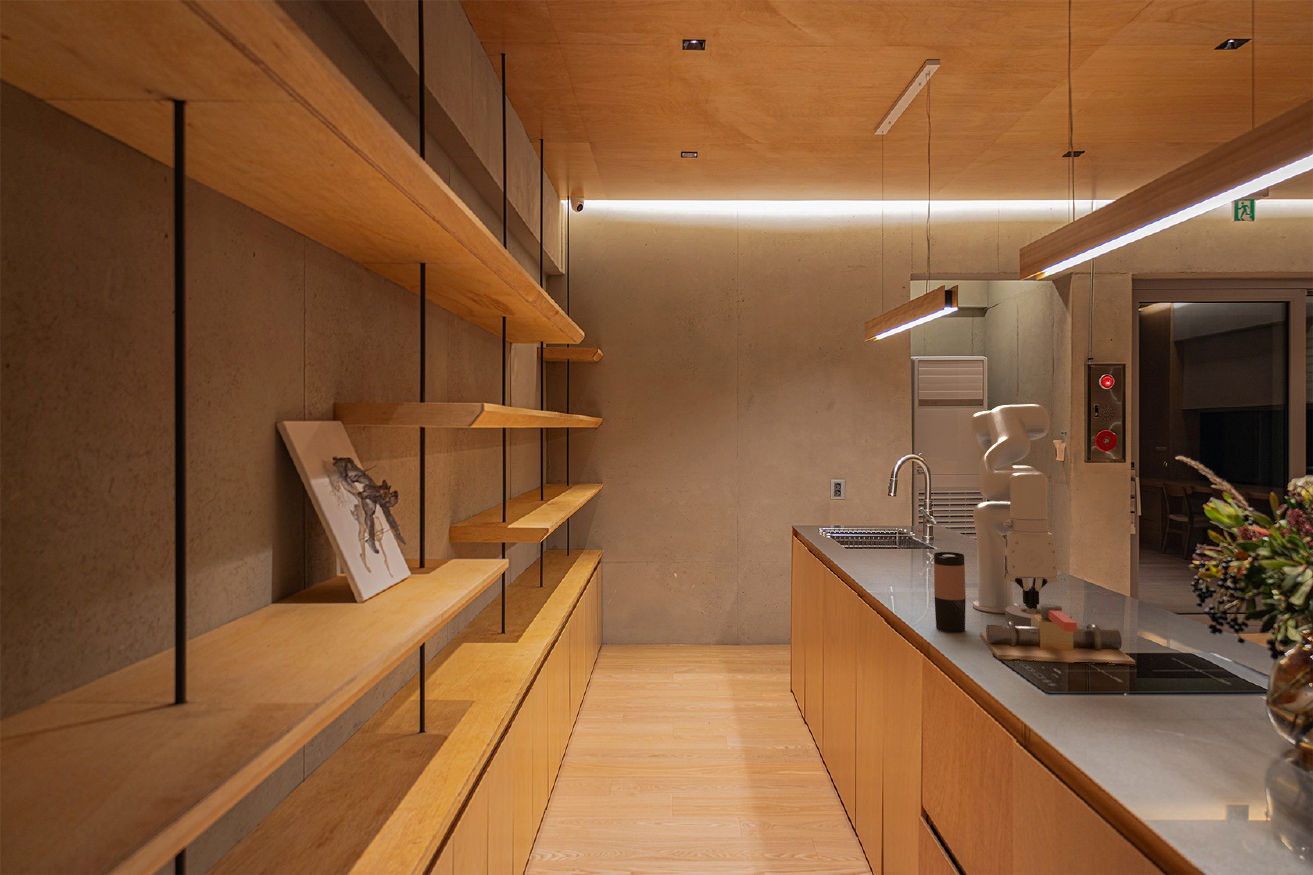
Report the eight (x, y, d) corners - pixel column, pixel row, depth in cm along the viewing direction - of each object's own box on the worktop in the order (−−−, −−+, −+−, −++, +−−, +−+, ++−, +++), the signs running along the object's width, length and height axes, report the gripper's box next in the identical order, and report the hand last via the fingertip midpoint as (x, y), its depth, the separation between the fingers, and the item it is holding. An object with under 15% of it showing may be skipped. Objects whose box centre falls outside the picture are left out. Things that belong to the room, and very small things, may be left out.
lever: (1038, 614, 168) (1038, 603, 168) (1058, 615, 167) (1058, 604, 167) (1059, 631, 153) (1059, 620, 153) (1081, 632, 152) (1081, 620, 152)
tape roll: (1074, 628, 184) (1074, 608, 184) (1068, 642, 171) (1068, 621, 171) (1010, 620, 193) (1010, 601, 193) (1000, 633, 180) (999, 613, 180)
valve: (992, 651, 165) (991, 619, 165) (985, 642, 171) (984, 612, 172) (1124, 657, 158) (1123, 624, 158) (1111, 648, 165) (1111, 617, 165)
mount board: (997, 658, 159) (997, 654, 159) (980, 636, 177) (979, 632, 177) (1135, 665, 153) (1135, 660, 153) (1102, 641, 170) (1102, 637, 170)
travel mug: (960, 625, 187) (959, 551, 188) (970, 633, 180) (968, 556, 180) (931, 625, 188) (929, 551, 188) (940, 633, 181) (938, 556, 181)
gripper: (997, 528, 155) (999, 610, 155) (1071, 528, 152) (1073, 612, 151) (989, 524, 163) (991, 602, 162) (1059, 525, 159) (1061, 605, 159)
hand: (1031, 607), depth 157 cm, fingers closed
